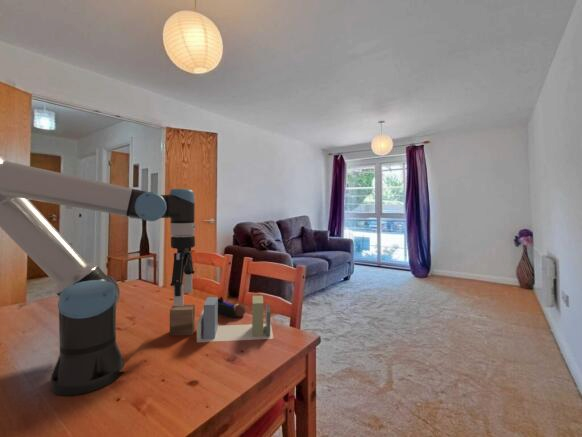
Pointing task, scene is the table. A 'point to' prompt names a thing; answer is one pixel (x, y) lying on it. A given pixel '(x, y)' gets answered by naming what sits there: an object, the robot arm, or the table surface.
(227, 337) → the white book rack
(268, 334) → the bookend
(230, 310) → the character figurine
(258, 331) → the book
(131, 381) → the table surface
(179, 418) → the table surface
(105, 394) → the table surface
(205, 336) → the book
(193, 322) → the book
